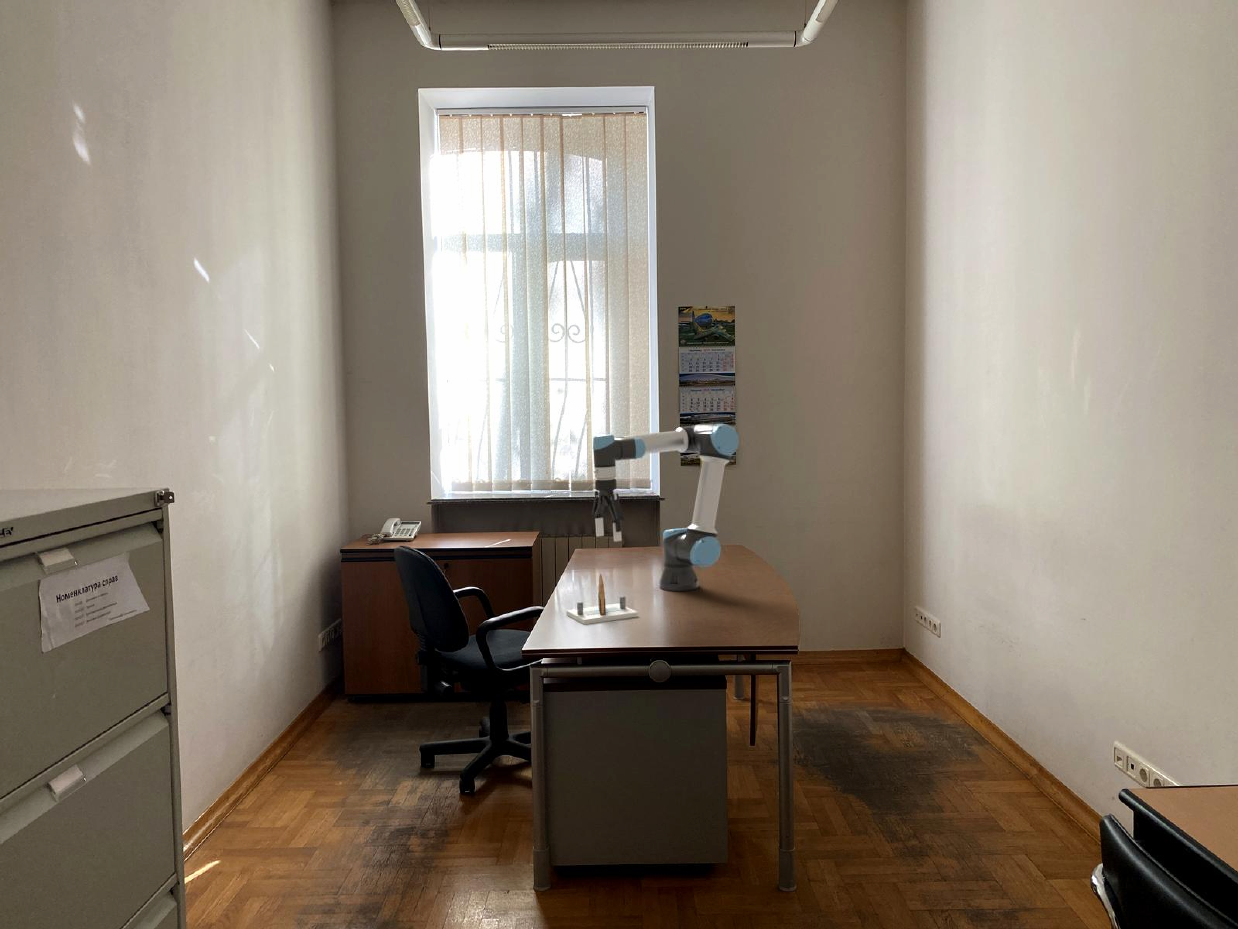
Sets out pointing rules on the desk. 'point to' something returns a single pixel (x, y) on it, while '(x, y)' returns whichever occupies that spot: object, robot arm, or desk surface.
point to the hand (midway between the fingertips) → (608, 538)
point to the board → (594, 615)
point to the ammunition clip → (601, 597)
